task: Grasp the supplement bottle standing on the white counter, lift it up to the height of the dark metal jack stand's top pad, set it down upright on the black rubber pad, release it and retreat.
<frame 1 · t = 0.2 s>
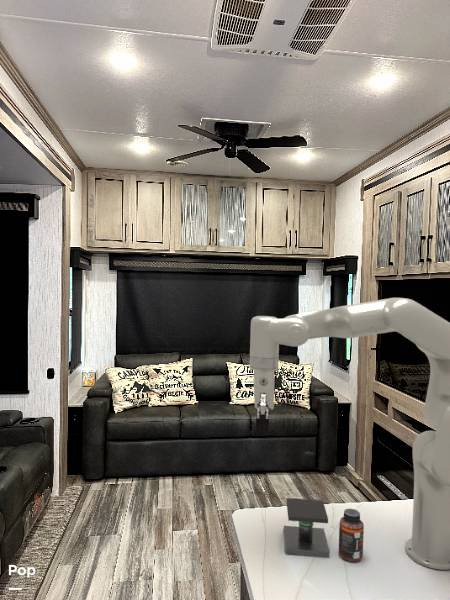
hand: (262, 427, 117), 31 cm above the kitchen counter, tool pointing down, fingers open, 9 cm apart
supplement bottle: (350, 556, 113), on the kitchen counter
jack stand: (305, 543, 117), on the kitchen counter
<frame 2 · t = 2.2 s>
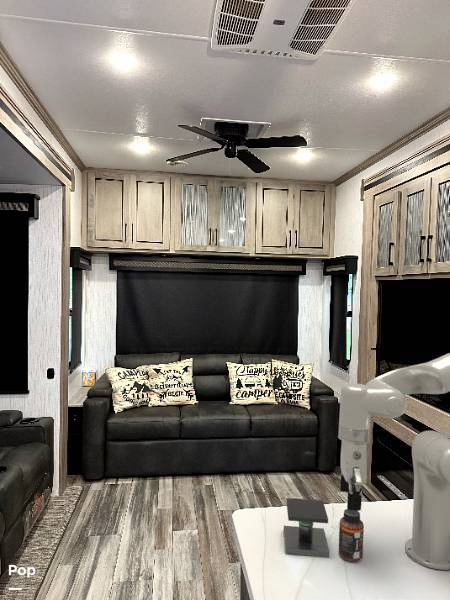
hand: (350, 500, 112), 14 cm above the kitchen counter, tool pointing down, fingers open, 9 cm apart
nothing on the kitchen counter moved.
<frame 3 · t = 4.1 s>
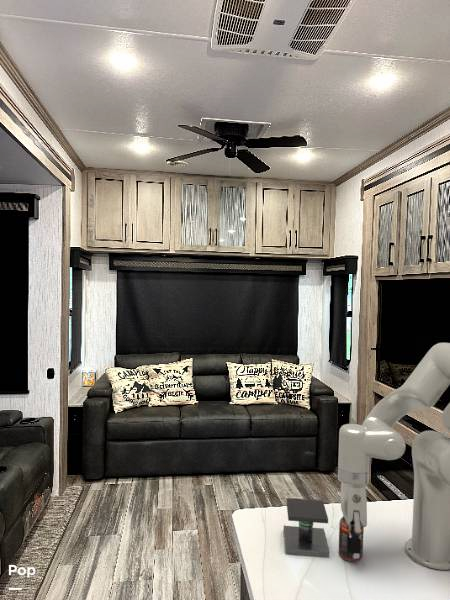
hand: (350, 544, 112), 3 cm above the kitchen counter, tool pointing down, fingers closed on supplement bottle, 6 cm apart
supplement bottle: (350, 556, 113), on the kitchen counter, touching gripper
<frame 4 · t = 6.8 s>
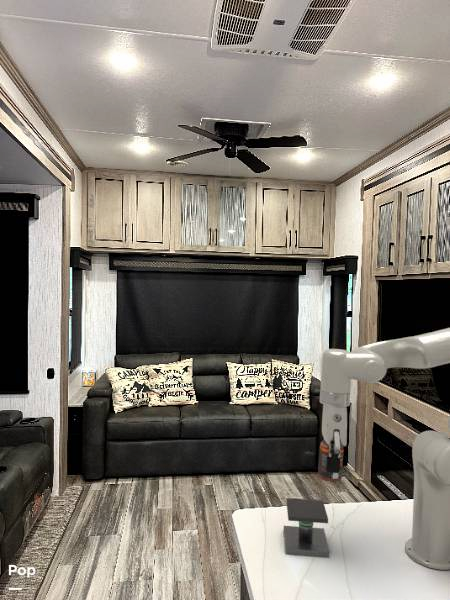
hand: (330, 466, 114), 22 cm above the kitchen counter, tool pointing down, fingers closed on supplement bottle, 6 cm apart
supplement bottle: (329, 478, 114), point 19 cm above the kitchen counter, touching gripper
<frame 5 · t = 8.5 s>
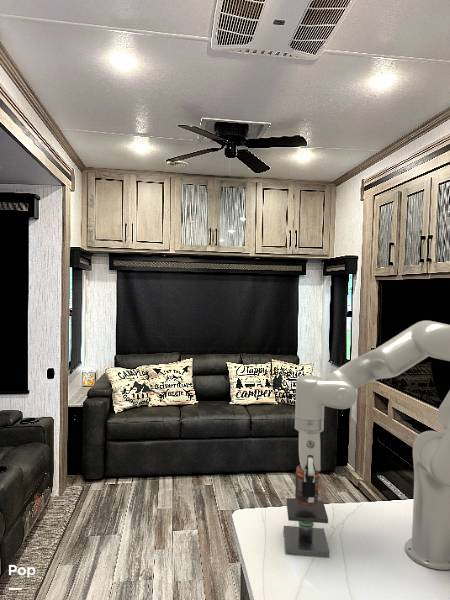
hand: (307, 490, 117), 14 cm above the kitchen counter, tool pointing down, fingers closed on supplement bottle, 6 cm apart
supplement bottle: (306, 502, 117), point 11 cm above the kitchen counter, touching gripper
when the fingers open (14 cm above the kitchen counter, at t = 9.7 s): supplement bottle drops 1 cm, resting on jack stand.
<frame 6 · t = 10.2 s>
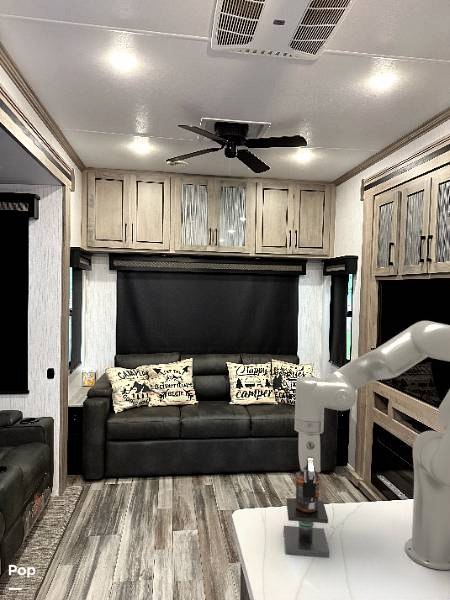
hand: (307, 488, 117), 15 cm above the kitchen counter, tool pointing down, fingers open, 9 cm apart
supplement bottle: (306, 508, 117), point 9 cm above the kitchen counter, touching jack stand
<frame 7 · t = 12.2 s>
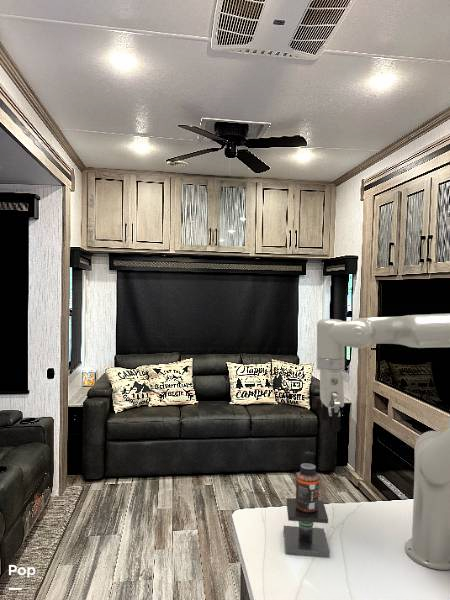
hand: (330, 425, 123), 30 cm above the kitchen counter, tool pointing down, fingers open, 9 cm apart
nothing on the kitchen counter moved.
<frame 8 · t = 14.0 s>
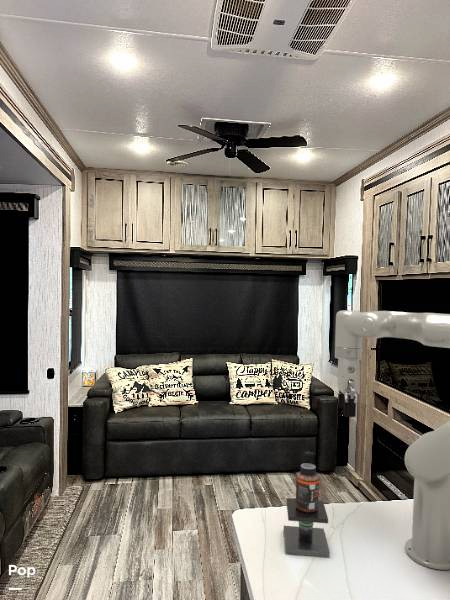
hand: (346, 411, 129), 32 cm above the kitchen counter, tool pointing down, fingers open, 9 cm apart
nothing on the kitchen counter moved.
at the end: supplement bottle inside the target area on the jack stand (0.2 cm from its centre), point 9.3 cm above the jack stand's base; supplement bottle tilted 0°; the gripper is holding nothing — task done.
